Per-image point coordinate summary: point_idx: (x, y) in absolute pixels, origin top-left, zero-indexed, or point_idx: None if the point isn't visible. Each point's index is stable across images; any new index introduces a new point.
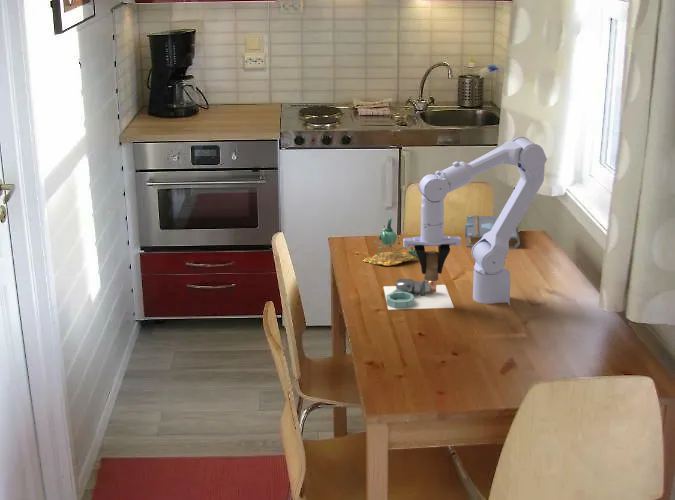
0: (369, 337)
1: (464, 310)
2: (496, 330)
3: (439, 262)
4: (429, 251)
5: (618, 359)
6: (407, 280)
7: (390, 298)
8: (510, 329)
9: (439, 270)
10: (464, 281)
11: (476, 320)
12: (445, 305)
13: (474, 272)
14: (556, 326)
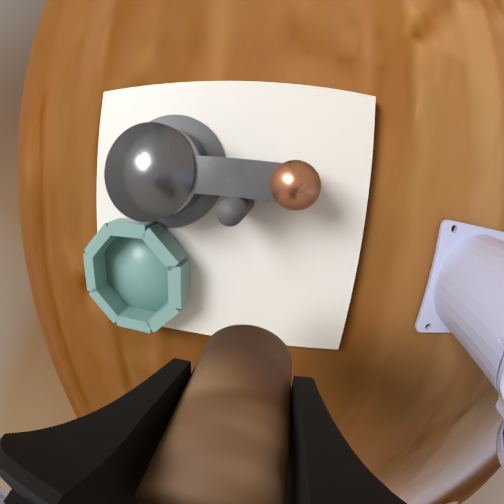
0: (93, 411)
1: (372, 346)
2: (384, 447)
3: (289, 470)
4: (184, 498)
5: (466, 484)
6: (158, 149)
7: (103, 250)
8: (414, 442)
9: None
10: (451, 69)
11: (370, 408)
12: (313, 327)
13: (496, 350)
14: (491, 421)
